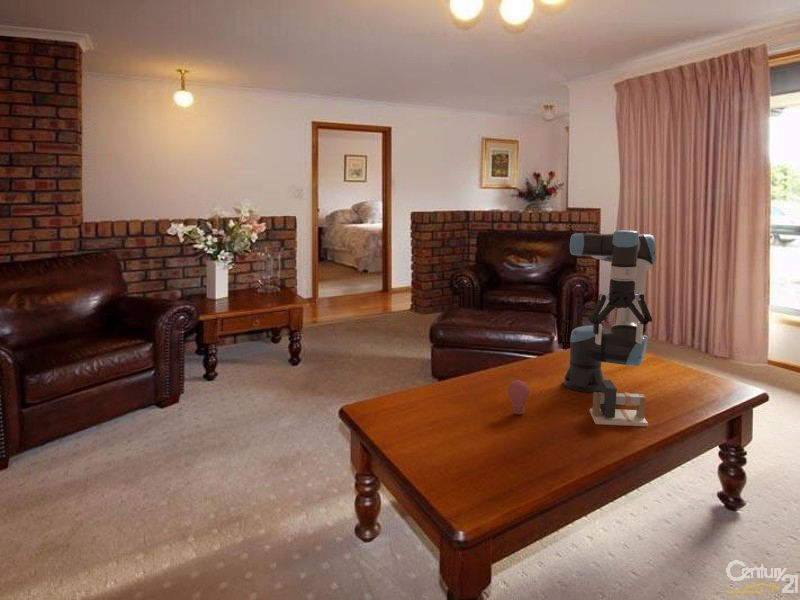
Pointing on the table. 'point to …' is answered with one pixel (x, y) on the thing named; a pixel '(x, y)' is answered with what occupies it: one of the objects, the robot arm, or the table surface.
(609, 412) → the dark grey block
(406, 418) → the table surface
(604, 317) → the robot arm
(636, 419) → the pipe rig
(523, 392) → the light bulb
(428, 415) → the table surface
